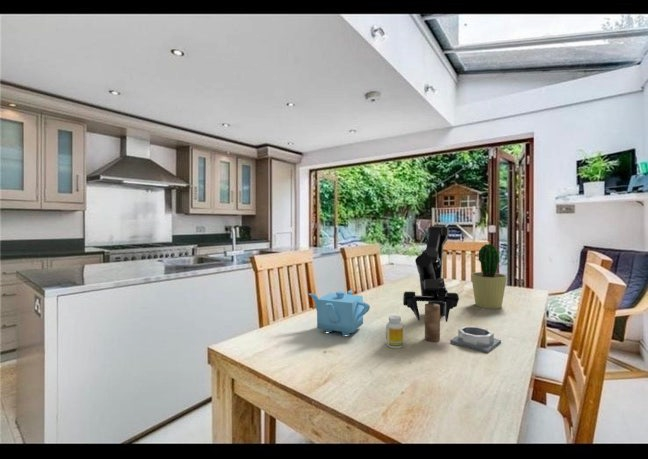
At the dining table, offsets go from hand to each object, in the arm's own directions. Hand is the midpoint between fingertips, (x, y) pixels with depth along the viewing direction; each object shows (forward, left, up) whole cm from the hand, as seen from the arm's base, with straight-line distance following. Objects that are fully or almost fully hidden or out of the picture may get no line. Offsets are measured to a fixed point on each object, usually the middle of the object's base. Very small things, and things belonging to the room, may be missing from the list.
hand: (432, 320), depth 115 cm
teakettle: (-31, -15, -7) cm, 35 cm away
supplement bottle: (-7, -13, -7) cm, 16 cm away
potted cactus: (-4, +61, -7) cm, 61 cm away
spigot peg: (-1, +1, -7) cm, 7 cm away
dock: (+11, +8, -7) cm, 15 cm away
